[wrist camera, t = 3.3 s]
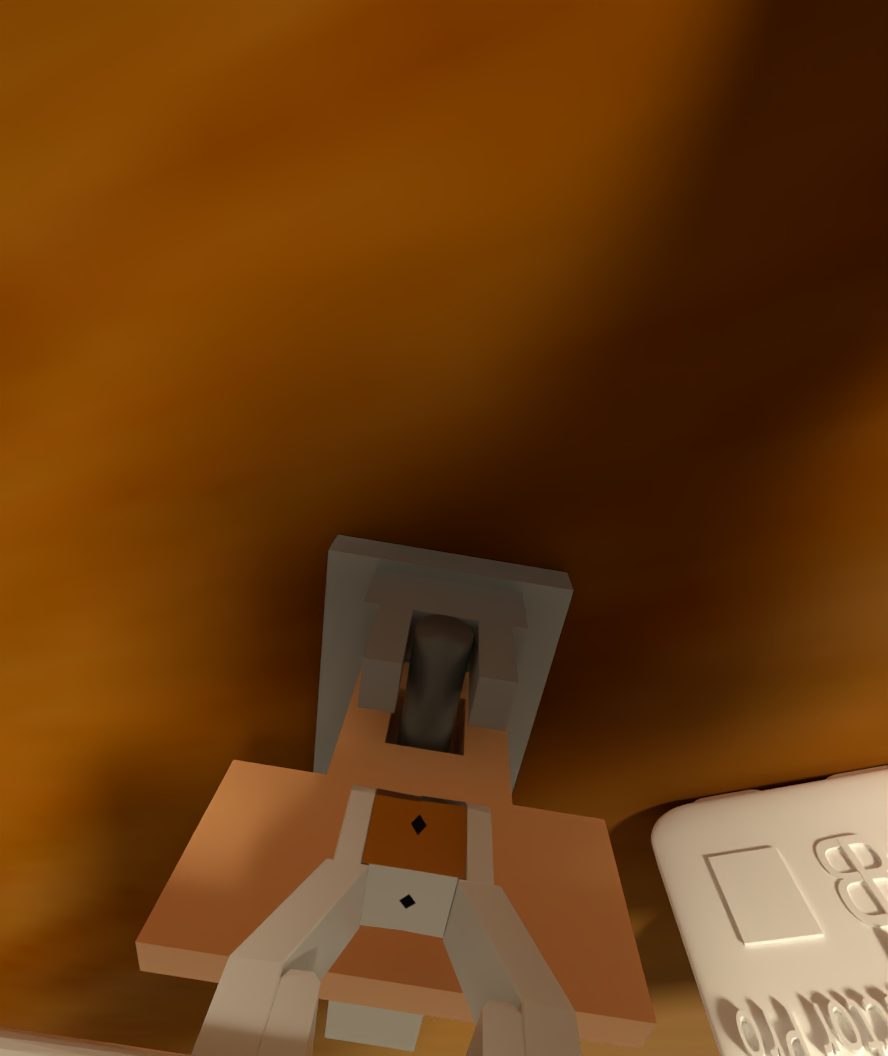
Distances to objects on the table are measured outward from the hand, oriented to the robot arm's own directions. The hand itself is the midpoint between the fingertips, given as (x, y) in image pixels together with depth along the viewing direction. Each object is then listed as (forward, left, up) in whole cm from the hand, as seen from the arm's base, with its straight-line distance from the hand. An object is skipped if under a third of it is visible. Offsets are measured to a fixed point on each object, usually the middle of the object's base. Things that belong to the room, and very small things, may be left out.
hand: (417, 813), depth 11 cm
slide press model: (+12, 0, -12) cm, 16 cm away
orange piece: (+7, 0, -10) cm, 12 cm away
